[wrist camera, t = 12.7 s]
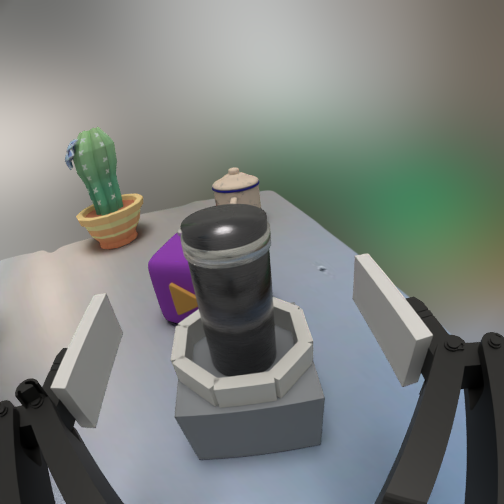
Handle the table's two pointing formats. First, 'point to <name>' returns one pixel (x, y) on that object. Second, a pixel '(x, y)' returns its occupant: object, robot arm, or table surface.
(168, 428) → the table surface
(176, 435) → the table surface
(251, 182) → the teacup with lid
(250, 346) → the lens
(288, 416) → the camera body block
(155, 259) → the toy camera
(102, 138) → the potted cactus
